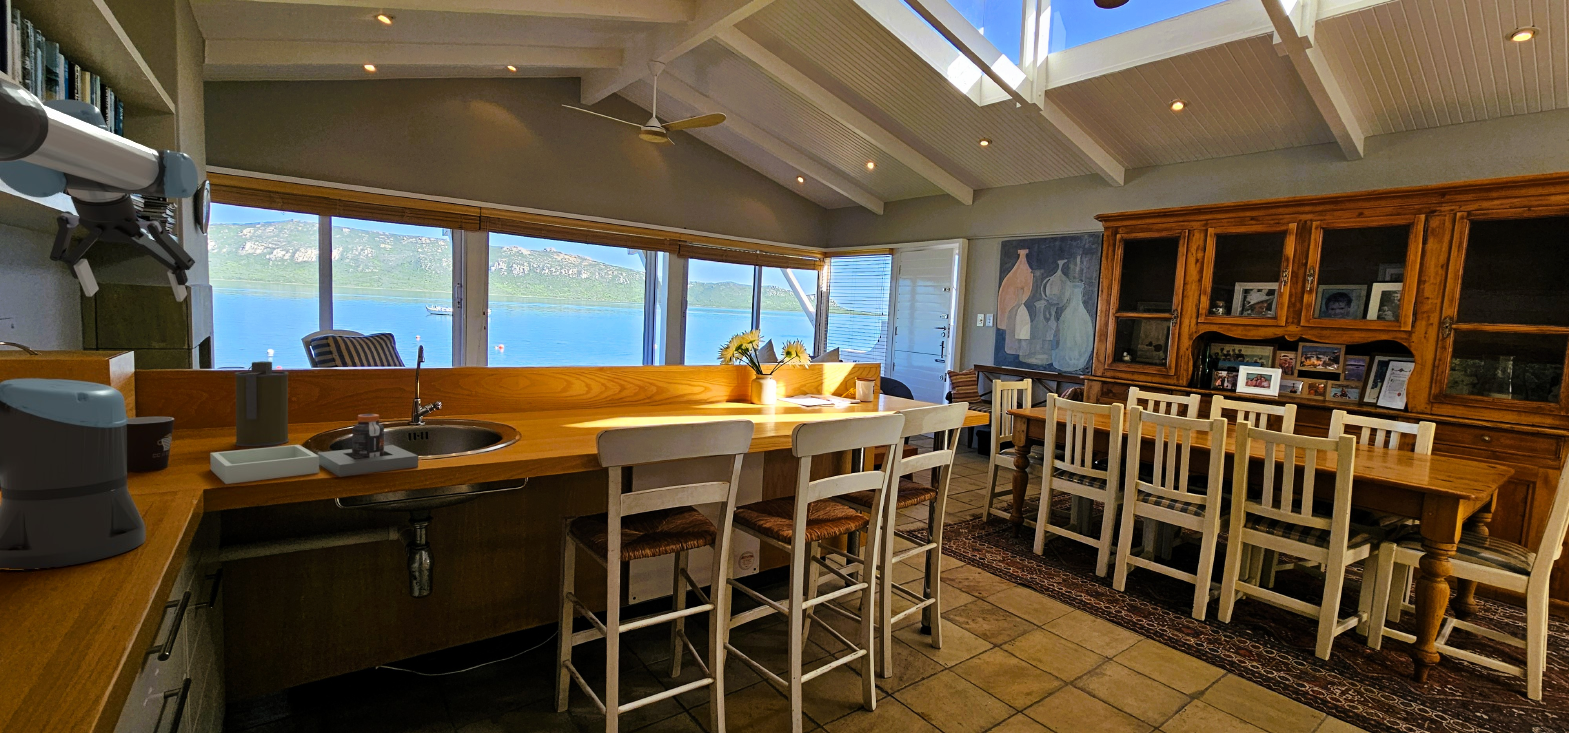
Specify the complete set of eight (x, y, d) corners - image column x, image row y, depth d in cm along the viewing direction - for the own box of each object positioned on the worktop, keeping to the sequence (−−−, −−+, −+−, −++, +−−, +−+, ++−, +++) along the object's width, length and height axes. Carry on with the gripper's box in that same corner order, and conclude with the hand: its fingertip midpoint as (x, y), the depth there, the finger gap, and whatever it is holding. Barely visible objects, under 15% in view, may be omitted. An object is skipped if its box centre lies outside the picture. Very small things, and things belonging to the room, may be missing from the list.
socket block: (418, 466, 146) (418, 455, 146) (339, 476, 135) (339, 464, 135) (392, 455, 156) (392, 444, 156) (317, 463, 145) (317, 452, 144)
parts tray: (319, 472, 137) (319, 456, 137) (226, 484, 126) (225, 466, 126) (298, 460, 147) (298, 444, 147) (210, 469, 136) (210, 452, 135)
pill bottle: (386, 466, 145) (386, 415, 144) (354, 469, 141) (354, 417, 140) (381, 461, 150) (381, 412, 149) (350, 464, 146) (350, 413, 145)
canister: (247, 439, 166) (246, 359, 164) (296, 438, 169) (295, 361, 168) (225, 447, 156) (224, 363, 154) (277, 447, 159) (277, 364, 157)
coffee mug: (138, 475, 129) (137, 424, 128) (104, 471, 130) (102, 421, 130) (201, 463, 140) (201, 416, 139) (169, 459, 142) (168, 413, 141)
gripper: (197, 193, 123) (224, 289, 135) (17, 174, 114) (64, 279, 126) (179, 211, 117) (210, 310, 130) (-10, 193, 109) (41, 301, 121)
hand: (138, 295), depth 128 cm, fingers open, 13 cm apart
